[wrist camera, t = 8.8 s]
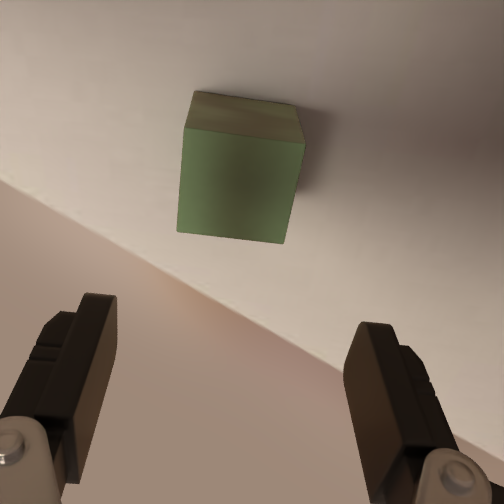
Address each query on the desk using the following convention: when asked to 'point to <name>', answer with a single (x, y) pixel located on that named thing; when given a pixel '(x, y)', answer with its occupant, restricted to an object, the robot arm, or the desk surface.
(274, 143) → the block
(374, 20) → the desk surface
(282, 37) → the desk surface
